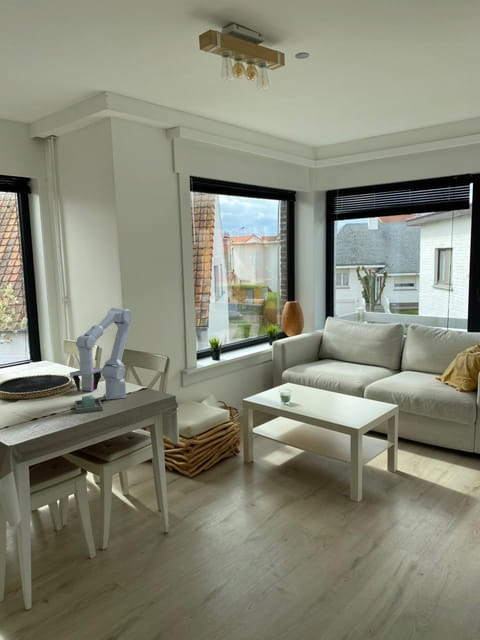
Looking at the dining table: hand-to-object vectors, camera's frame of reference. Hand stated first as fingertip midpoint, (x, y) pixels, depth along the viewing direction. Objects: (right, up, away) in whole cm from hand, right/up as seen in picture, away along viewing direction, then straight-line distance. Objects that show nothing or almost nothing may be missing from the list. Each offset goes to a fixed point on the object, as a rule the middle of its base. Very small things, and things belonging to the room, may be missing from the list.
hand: (87, 390), depth 224 cm
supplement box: (-7, -4, +26) cm, 27 cm away
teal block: (0, -8, +1) cm, 8 cm away
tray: (0, -8, +1) cm, 8 cm away
